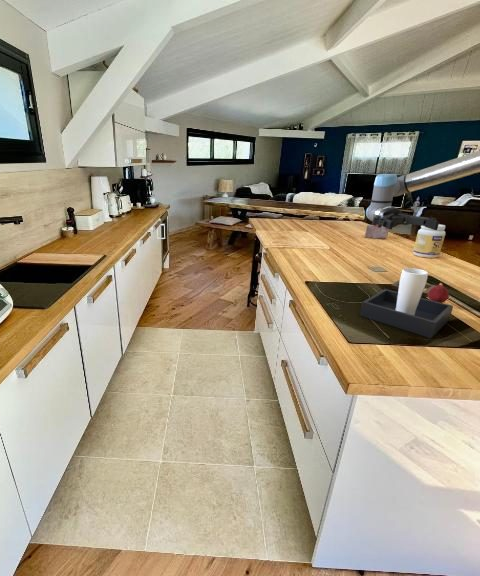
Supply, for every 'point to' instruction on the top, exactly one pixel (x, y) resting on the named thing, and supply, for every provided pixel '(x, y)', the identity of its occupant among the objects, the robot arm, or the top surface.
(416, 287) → the drinking glass
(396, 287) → the small square dish
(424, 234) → the supplement tub
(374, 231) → the food item
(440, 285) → the onion
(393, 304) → the dark grey tray
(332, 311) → the top surface
